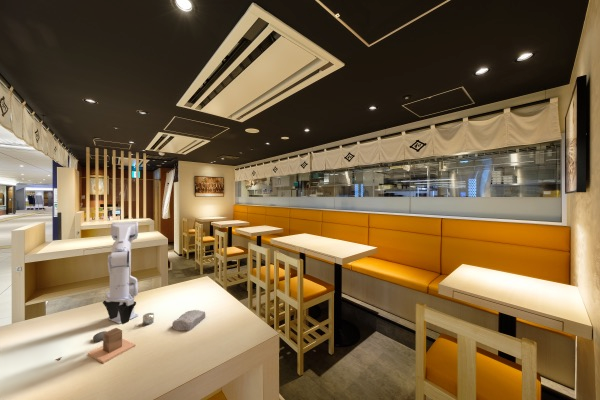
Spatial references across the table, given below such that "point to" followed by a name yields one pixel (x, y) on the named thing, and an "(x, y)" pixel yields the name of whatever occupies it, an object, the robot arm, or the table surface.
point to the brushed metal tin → (148, 319)
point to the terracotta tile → (105, 356)
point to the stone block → (189, 320)
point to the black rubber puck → (98, 337)
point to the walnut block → (112, 340)
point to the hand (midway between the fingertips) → (119, 320)
